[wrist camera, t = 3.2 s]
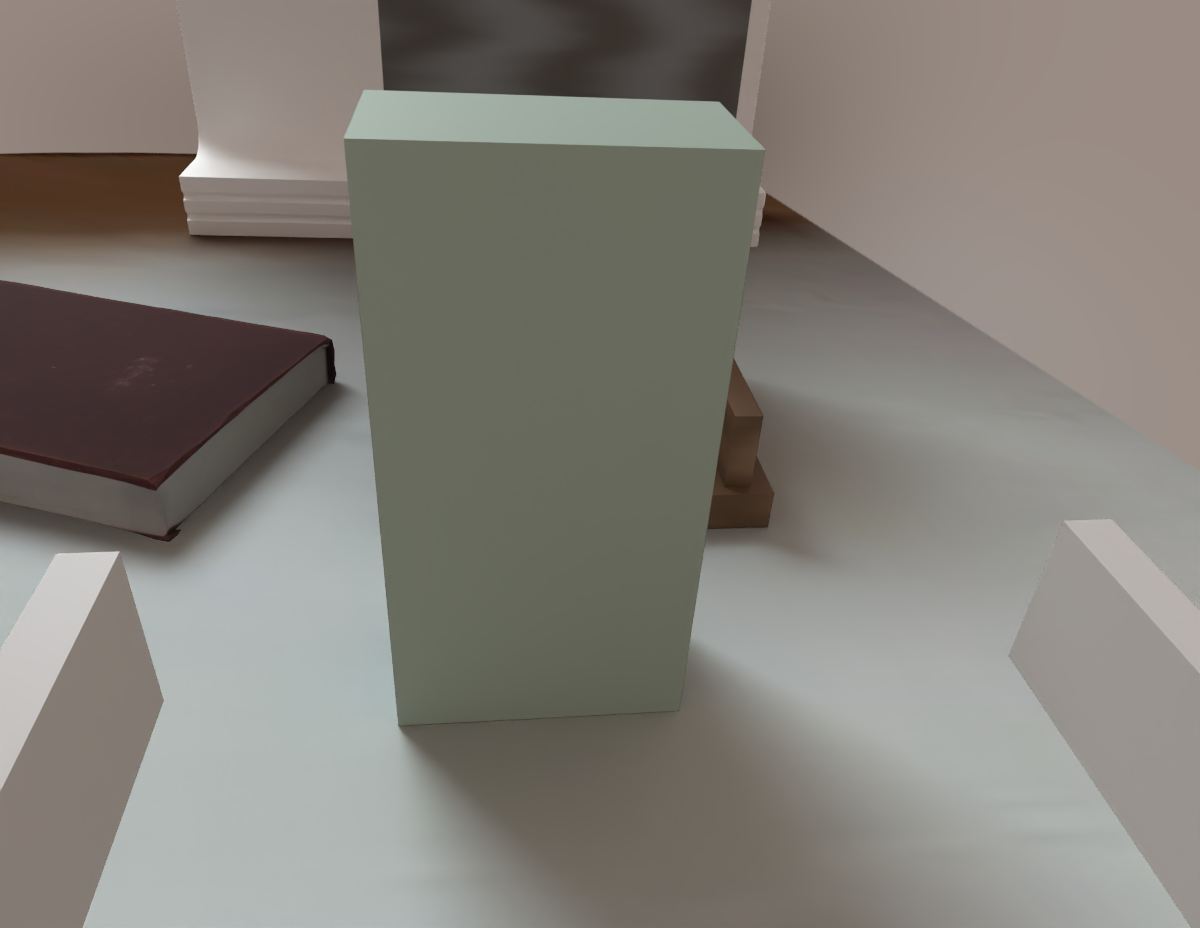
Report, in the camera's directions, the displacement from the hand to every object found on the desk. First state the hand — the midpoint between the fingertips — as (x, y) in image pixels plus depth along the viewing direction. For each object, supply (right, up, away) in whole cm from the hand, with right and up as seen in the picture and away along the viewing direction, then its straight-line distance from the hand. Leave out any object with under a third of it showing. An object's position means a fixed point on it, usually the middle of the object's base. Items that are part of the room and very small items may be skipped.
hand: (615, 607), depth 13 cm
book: (-23, +4, +26) cm, 35 cm away
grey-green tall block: (-2, -4, +15) cm, 15 cm away
